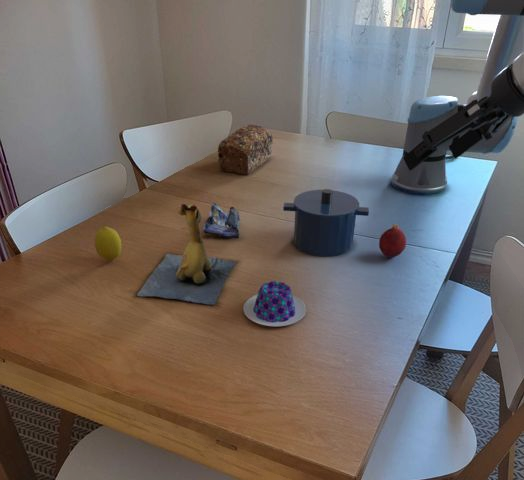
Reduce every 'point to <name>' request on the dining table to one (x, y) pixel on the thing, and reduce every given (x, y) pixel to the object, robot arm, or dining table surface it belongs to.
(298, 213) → the pot
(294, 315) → the pudding
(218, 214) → the snack package
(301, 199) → the pot lid
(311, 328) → the dining table surface
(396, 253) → the onion
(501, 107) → the robot arm
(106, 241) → the lemon
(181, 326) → the dining table surface
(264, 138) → the bread
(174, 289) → the stuffed giraffe
